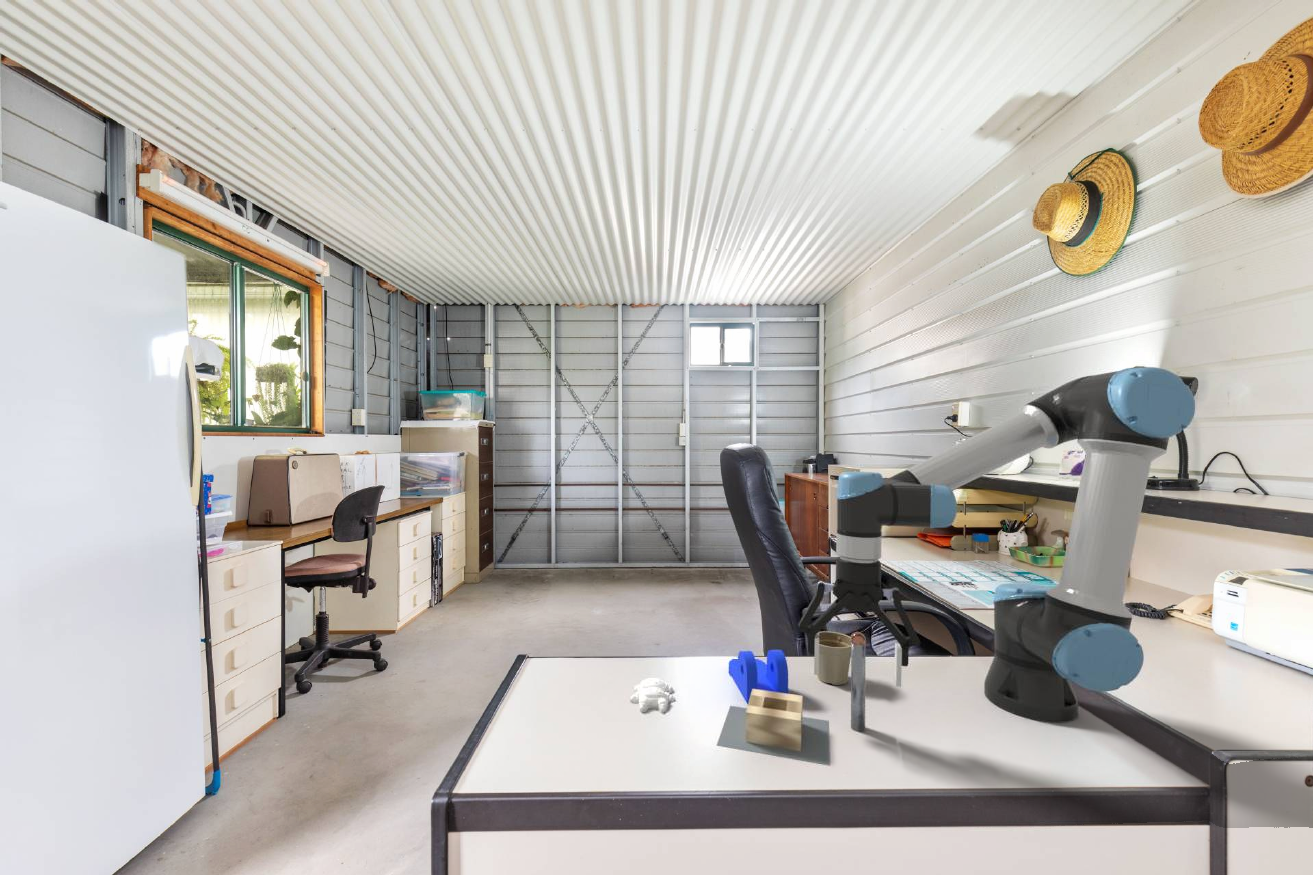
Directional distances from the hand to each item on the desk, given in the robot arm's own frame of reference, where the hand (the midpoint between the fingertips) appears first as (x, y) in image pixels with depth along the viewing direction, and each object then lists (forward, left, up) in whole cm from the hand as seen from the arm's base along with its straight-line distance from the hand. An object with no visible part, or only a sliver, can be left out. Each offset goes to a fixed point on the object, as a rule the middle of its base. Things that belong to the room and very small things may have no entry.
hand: (856, 677), depth 94 cm
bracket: (+20, -13, -10) cm, 25 cm away
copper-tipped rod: (0, 0, -9) cm, 9 cm away
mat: (+14, +6, -9) cm, 18 cm away
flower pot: (+4, -20, -10) cm, 23 cm away
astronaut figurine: (+38, 0, -10) cm, 39 cm away
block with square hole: (+14, +6, -9) cm, 17 cm away
